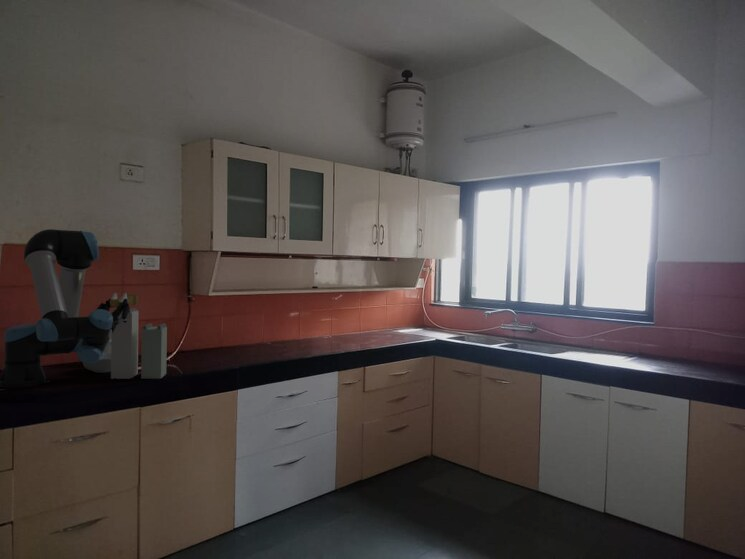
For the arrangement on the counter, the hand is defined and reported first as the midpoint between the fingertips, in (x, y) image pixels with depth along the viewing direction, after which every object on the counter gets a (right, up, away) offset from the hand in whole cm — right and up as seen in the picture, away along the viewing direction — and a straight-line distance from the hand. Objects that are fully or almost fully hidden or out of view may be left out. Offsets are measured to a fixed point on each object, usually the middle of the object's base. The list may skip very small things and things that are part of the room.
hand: (120, 295), depth 208 cm
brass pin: (-1, -5, +4) cm, 6 cm away
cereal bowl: (-16, -35, +16) cm, 41 cm away
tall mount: (-2, -35, +7) cm, 36 cm away
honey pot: (-20, -34, +30) cm, 50 cm away
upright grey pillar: (+10, -35, +9) cm, 38 cm away
